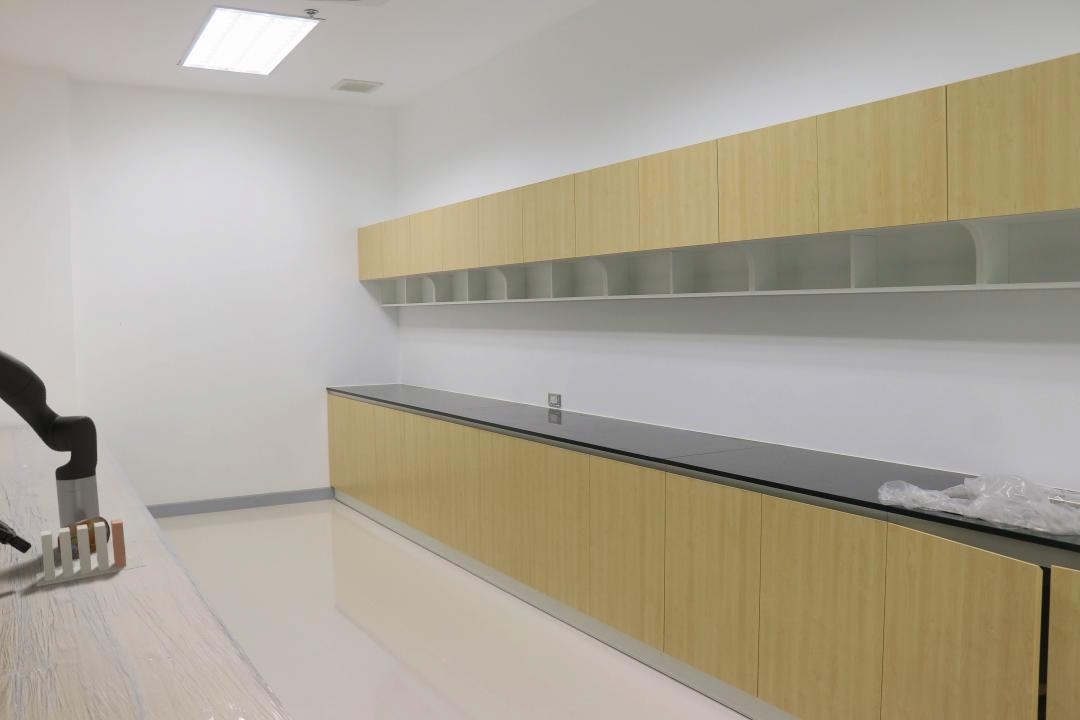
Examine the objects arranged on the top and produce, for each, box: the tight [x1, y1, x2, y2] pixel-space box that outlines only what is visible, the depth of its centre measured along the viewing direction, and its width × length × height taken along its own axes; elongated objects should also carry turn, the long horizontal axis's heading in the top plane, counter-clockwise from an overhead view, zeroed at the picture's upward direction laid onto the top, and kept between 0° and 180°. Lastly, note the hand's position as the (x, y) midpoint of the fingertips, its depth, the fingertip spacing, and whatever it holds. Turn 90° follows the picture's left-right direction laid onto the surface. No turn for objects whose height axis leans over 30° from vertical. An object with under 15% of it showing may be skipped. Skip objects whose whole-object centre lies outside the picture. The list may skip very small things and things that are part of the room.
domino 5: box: [110, 518, 127, 567], centre depth 190 cm, size 5×2×10 cm, turn 32°
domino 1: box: [40, 529, 56, 581], centre depth 183 cm, size 5×2×10 cm, turn 32°
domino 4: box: [94, 522, 109, 571], centre depth 188 cm, size 5×2×10 cm, turn 32°
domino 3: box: [76, 524, 92, 574], centre depth 186 cm, size 5×2×10 cm, turn 32°
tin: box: [57, 516, 111, 559], centre depth 204 cm, size 15×3×8 cm, turn 168°
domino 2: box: [58, 527, 74, 577], centre depth 185 cm, size 5×2×10 cm, turn 32°
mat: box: [36, 554, 146, 587], centre depth 187 cm, size 12×21×1 cm, turn 122°
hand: (28, 549), depth 181 cm, fingers closed
